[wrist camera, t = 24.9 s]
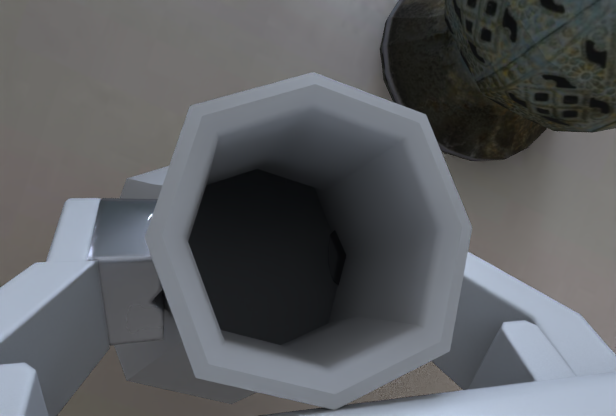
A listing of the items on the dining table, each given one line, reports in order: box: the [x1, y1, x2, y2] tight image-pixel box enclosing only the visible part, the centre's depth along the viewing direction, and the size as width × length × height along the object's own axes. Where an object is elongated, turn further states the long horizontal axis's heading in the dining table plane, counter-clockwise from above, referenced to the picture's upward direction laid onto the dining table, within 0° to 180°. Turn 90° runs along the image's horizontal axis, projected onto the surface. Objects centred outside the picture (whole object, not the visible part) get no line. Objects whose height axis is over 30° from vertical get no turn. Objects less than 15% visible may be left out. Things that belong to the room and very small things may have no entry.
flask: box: [114, 72, 472, 410], centre depth 9 cm, size 7×7×10 cm
